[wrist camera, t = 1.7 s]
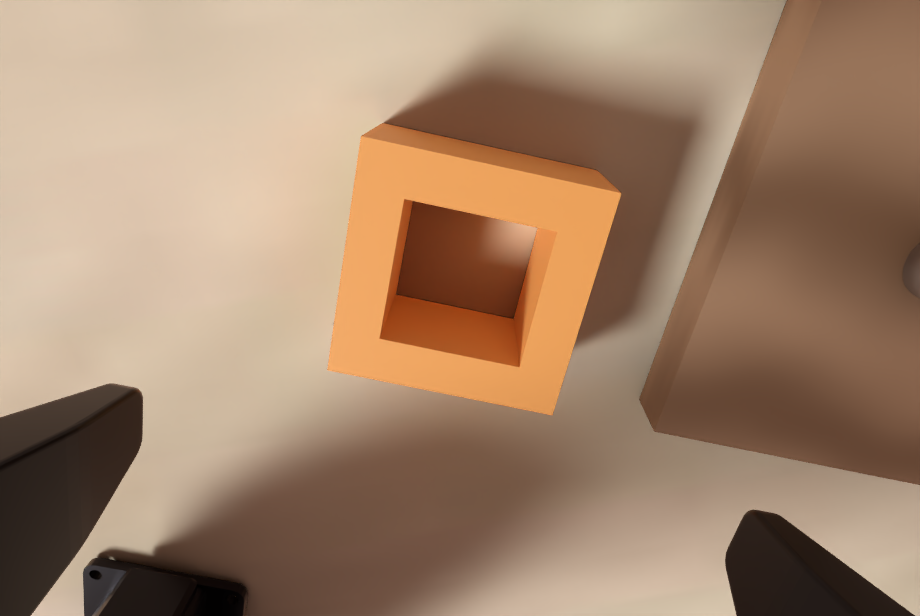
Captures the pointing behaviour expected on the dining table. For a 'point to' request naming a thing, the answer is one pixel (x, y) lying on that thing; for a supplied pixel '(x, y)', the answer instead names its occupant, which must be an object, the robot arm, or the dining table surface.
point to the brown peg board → (810, 256)
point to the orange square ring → (456, 329)
